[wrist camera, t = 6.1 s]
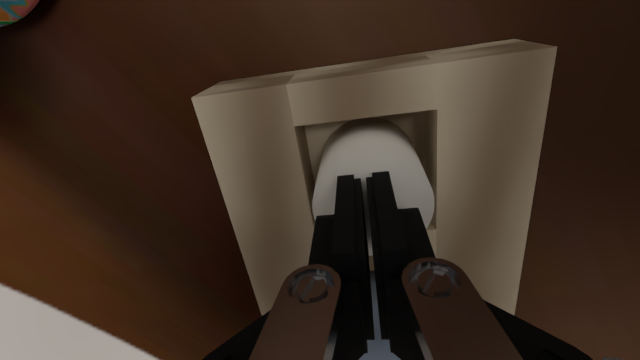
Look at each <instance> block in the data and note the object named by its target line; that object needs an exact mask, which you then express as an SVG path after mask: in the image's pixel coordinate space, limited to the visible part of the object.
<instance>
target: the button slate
mask: <svg viewBox="0 0 640 360" xmlns="http://www.w3.org/2000/svg"><path fill="white" fill-rule="evenodd" d="M370 280H371V294H372V307H373V321H374V335H375V340H367V346H368V353H365V354H364V355H363V356H362V357H361V358H360V359H359V360H401V359H400V358H398V357H397V356H396V355H395V354H393V353H391V351H390V342H389V340H381V332H380V322H379V312H378V302H377V292H376V282H375V272H374V271H370Z"/></svg>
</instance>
